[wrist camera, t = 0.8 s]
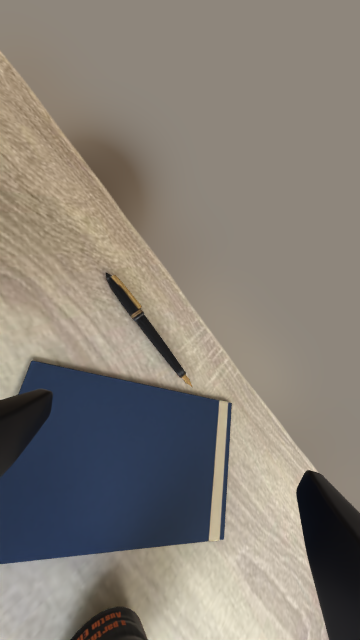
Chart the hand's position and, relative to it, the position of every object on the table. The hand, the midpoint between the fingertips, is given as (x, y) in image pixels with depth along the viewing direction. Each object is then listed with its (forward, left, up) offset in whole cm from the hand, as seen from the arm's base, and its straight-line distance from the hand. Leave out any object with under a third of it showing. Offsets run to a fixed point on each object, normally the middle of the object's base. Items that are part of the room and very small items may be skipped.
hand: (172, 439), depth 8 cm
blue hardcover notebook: (-3, -4, -14) cm, 15 cm away
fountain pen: (+8, -3, -14) cm, 16 cm away
